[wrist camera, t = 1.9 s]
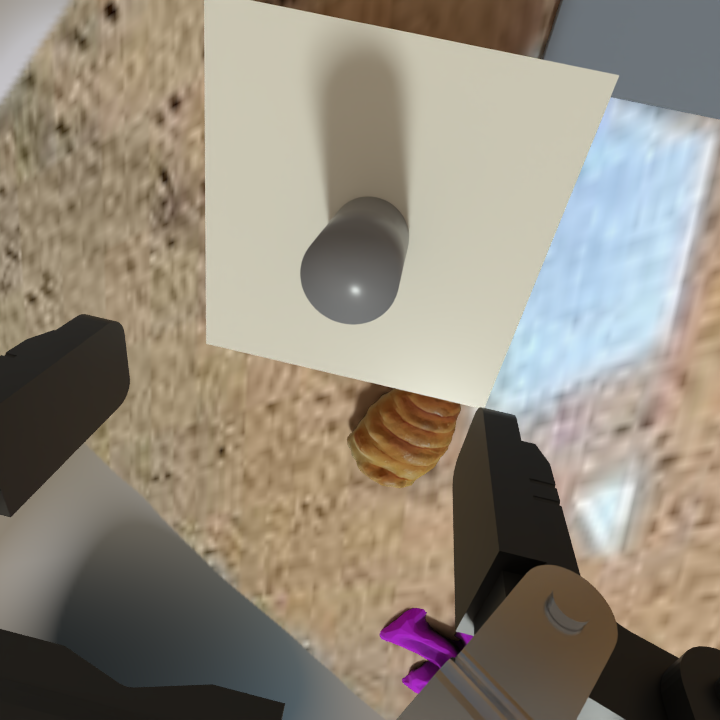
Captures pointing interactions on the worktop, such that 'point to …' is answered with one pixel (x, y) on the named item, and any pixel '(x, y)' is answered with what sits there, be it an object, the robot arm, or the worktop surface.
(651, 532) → the worktop surface
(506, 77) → the cover
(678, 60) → the mat
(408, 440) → the pastry
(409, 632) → the cloth
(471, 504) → the robot arm
